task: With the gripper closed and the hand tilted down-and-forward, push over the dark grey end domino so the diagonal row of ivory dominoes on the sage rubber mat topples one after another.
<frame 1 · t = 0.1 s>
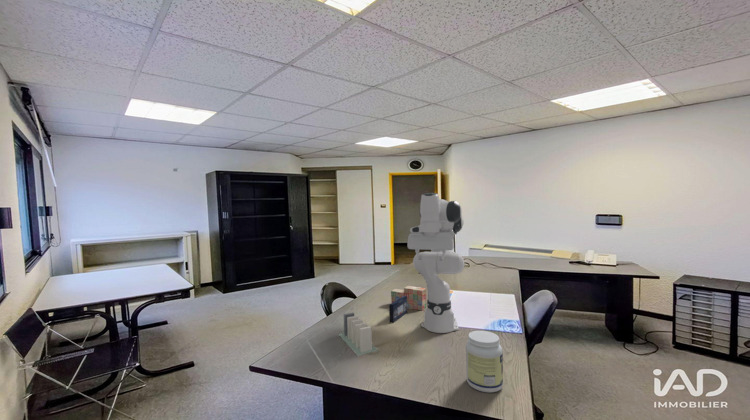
hand: (430, 260, 139), 39 cm above the table, tool pointing down, fingers open, 8 cm apart
vhs cassette tape: (398, 317, 178), on the table
mat: (357, 342, 147), on the table
supplement tub: (484, 384, 111), on the table
domino 5: (365, 350, 138), resting on mat
domino 2: (353, 337, 151), resting on mat
domino 1: (349, 334, 156), resting on mat
domino 4: (361, 346, 142), resting on mat
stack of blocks: (408, 307, 197), on the table
domino 3: (357, 341, 147), resting on mat
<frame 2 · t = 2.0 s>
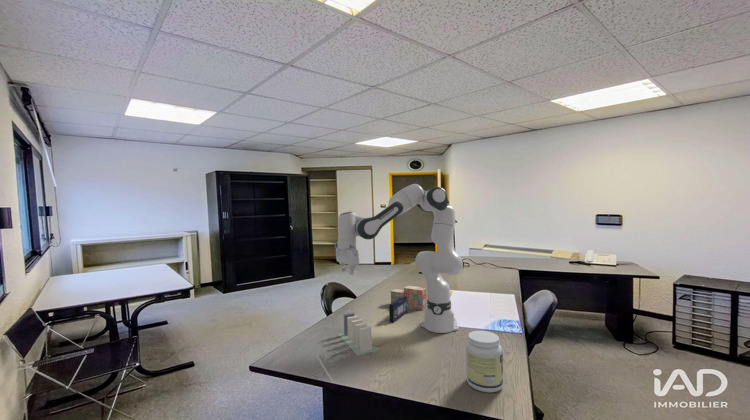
hand: (347, 272, 155), 31 cm above the table, tool pointing down, fingers open, 8 cm apart
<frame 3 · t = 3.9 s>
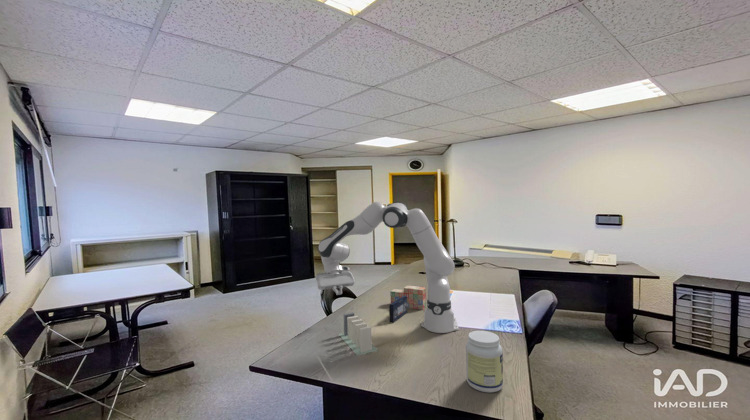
hand: (339, 294, 166), 17 cm above the table, tool tilted 45°, fingers closed
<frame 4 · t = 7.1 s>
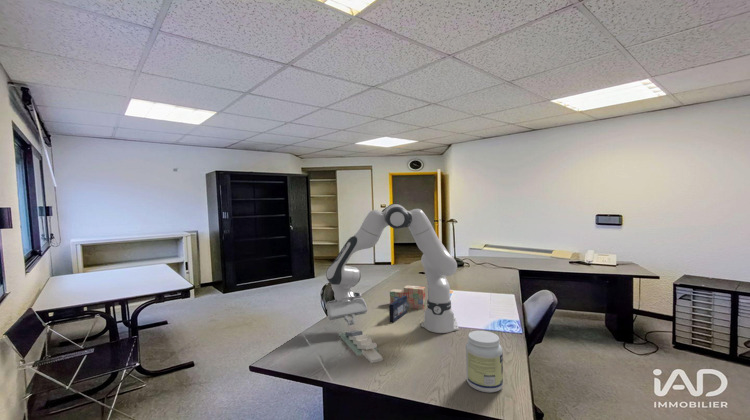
hand: (351, 324, 153), 6 cm above the table, tool tilted 45°, fingers closed
domino 5: (366, 349, 137), point 1 cm above the table, tilted 93°, touching domino 4, mat
domino 2: (353, 337, 150), point 1 cm above the table, tilted 72°, touching domino 1, domino 3, mat
domino 1: (350, 333, 155), point 1 cm above the table, tilted 72°, touching domino 2
domino 4: (362, 345, 141), point 1 cm above the table, tilted 71°, touching domino 3, domino 5
domino 3: (358, 341, 145), point 1 cm above the table, tilted 71°, touching domino 2, domino 4, mat
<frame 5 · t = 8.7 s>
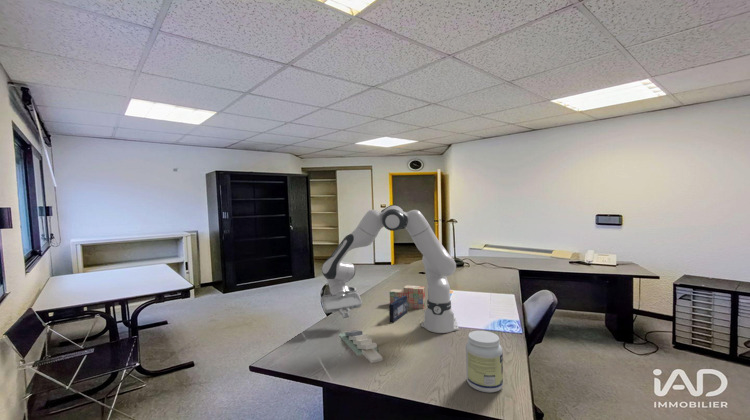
hand: (346, 317, 158), 8 cm above the table, tool tilted 45°, fingers closed
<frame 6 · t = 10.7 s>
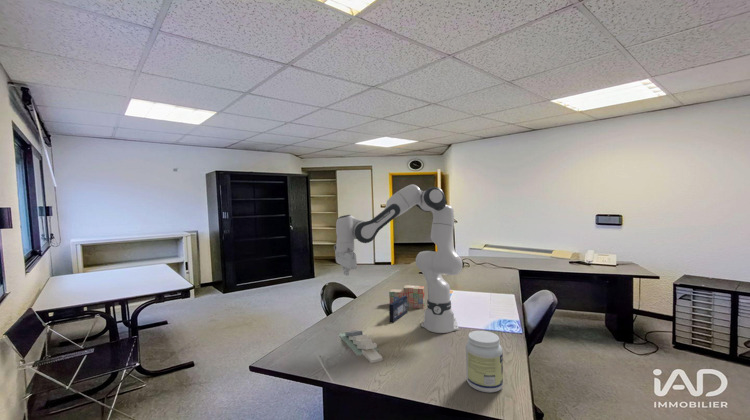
hand: (346, 274, 159), 29 cm above the table, tool pointing down, fingers closed
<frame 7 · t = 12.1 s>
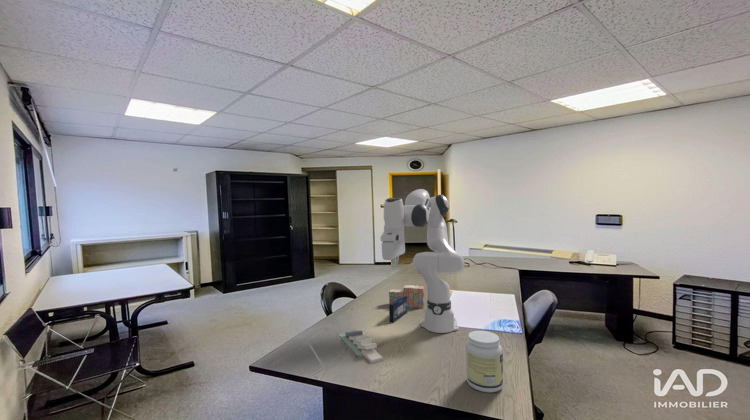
hand: (394, 267, 137), 37 cm above the table, tool pointing down, fingers closed
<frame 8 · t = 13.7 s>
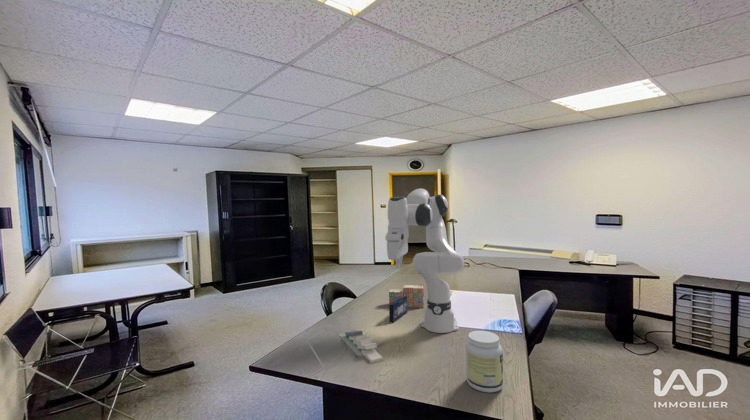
hand: (398, 266, 135), 37 cm above the table, tool pointing down, fingers closed
at the end: domino 5 tilted 93°; domino 1 tilted 72°; the gripper is holding nothing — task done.
